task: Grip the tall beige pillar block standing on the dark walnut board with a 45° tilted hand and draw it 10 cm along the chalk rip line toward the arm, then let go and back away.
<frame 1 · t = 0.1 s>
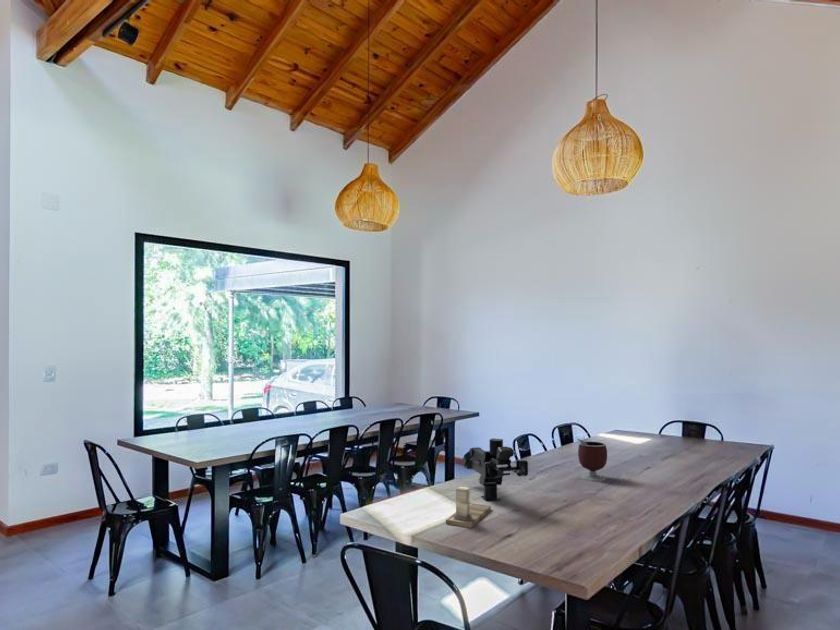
hand: (514, 473, 223), 17 cm above the table, tool horizontal, fingers open, 9 cm apart
walnut board: (469, 516, 222), on the table
mate gourd: (591, 478, 282), on the table
tall beige pillar block: (462, 503, 216), point 7 cm above the table, slide at 0.0 cm
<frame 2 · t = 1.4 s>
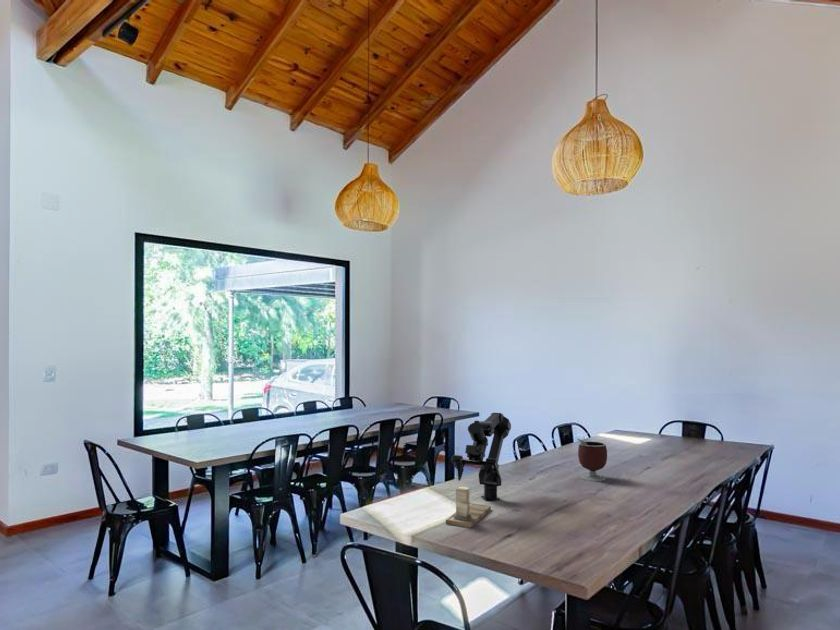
hand: (469, 481, 223), 13 cm above the table, tool tilted 45°, fingers open, 9 cm apart
nothing on the table moved.
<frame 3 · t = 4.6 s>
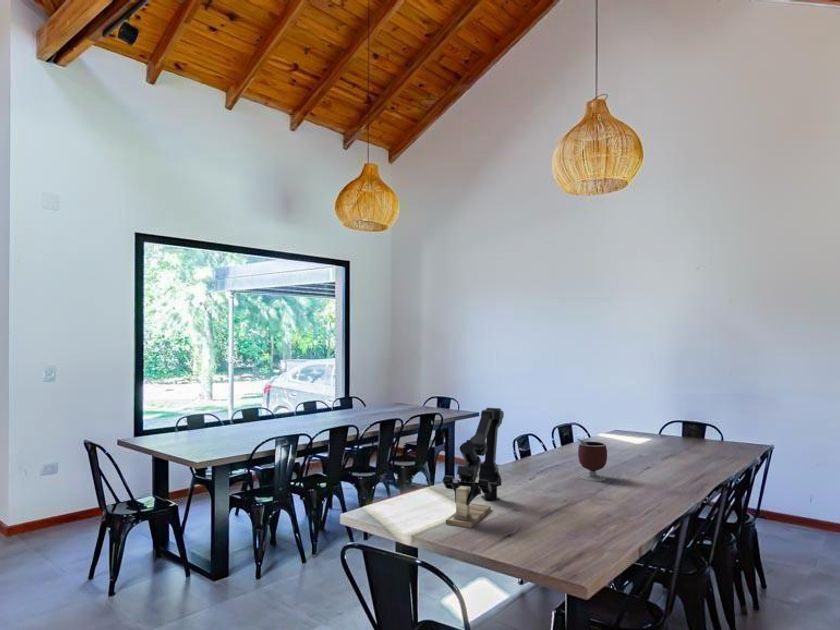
hand: (461, 504, 215), 7 cm above the table, tool tilted 45°, fingers closed on tall beige pillar block, 4 cm apart
tall beige pillar block: (462, 503, 216), point 7 cm above the table, slide at 0.0 cm, touching gripper
everything else where it was.
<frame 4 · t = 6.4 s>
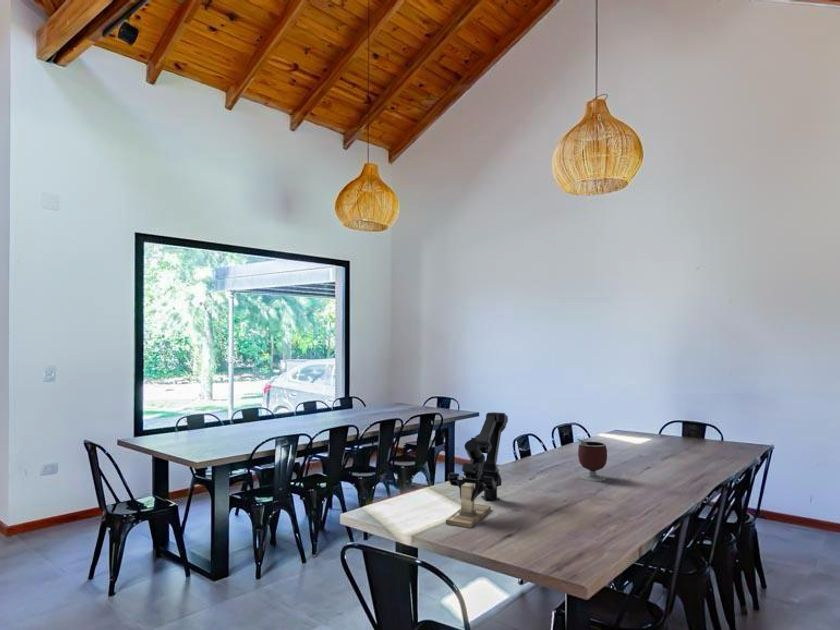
hand: (466, 500, 220), 7 cm above the table, tool tilted 45°, fingers closed on tall beige pillar block, 4 cm apart
tall beige pillar block: (467, 499, 221), point 7 cm above the table, slide at 5.4 cm, touching gripper
everything else where it was.
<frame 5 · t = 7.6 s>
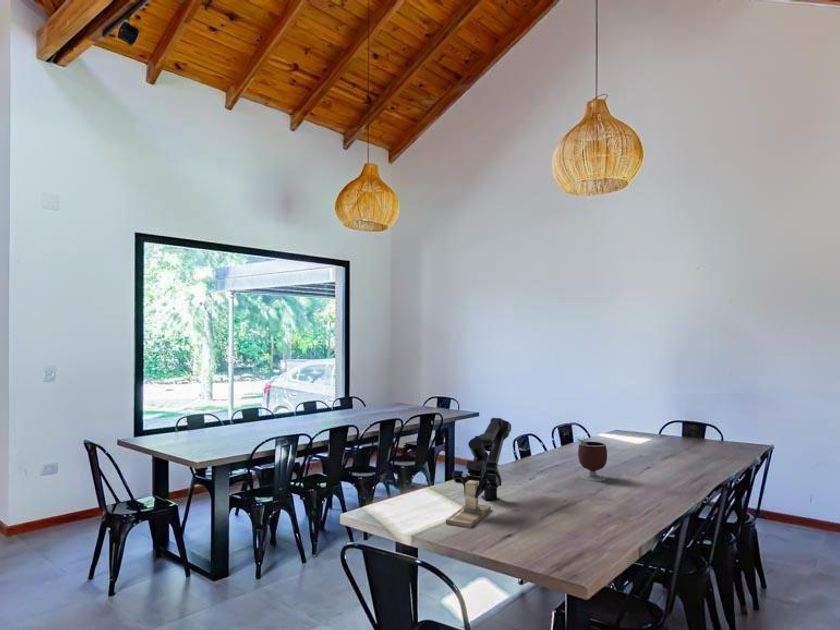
hand: (470, 497, 224), 7 cm above the table, tool tilted 45°, fingers closed on tall beige pillar block, 4 cm apart
tall beige pillar block: (471, 496, 225), point 7 cm above the table, slide at 10.0 cm, touching gripper
everything else where it was.
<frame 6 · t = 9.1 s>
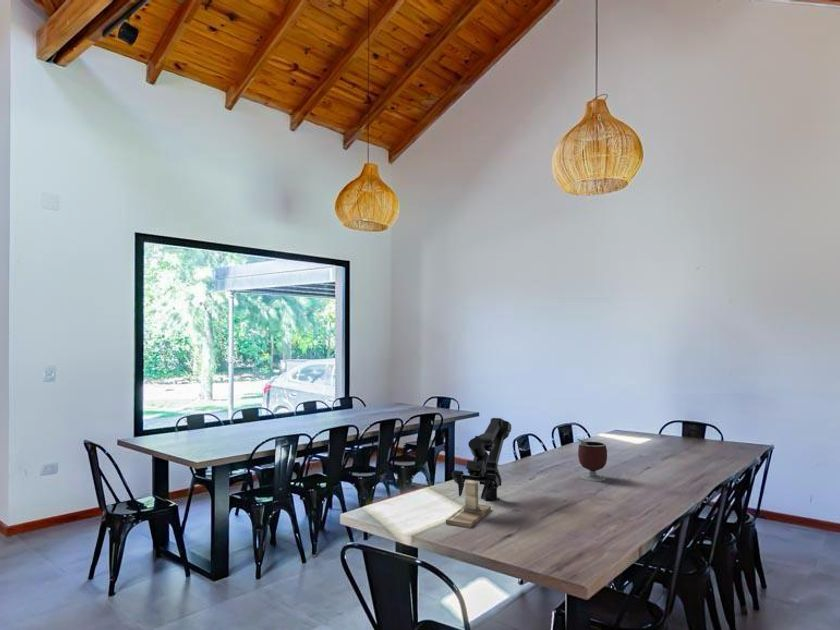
hand: (470, 497, 224), 7 cm above the table, tool tilted 45°, fingers open, 9 cm apart
tall beige pillar block: (471, 496, 225), point 7 cm above the table, slide at 10.0 cm
everything else where it was.
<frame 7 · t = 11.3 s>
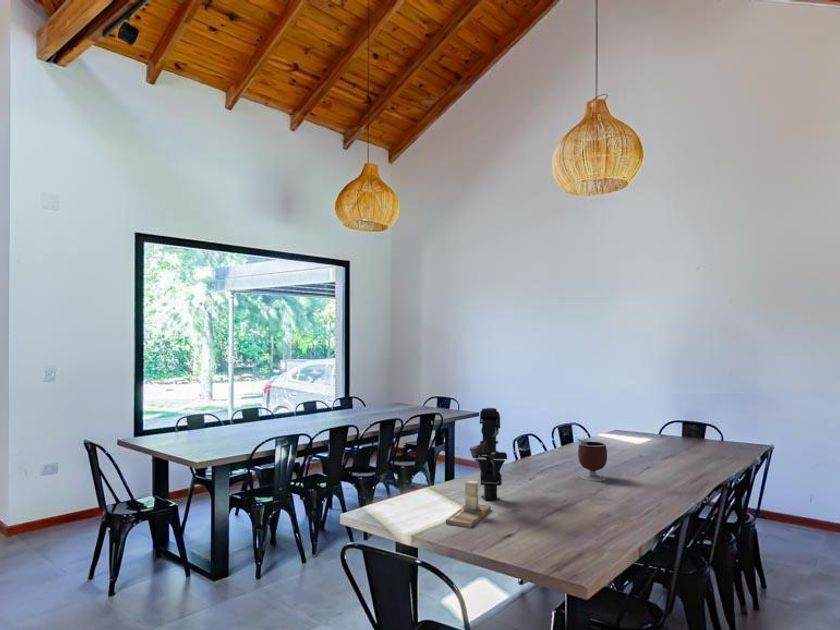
hand: (489, 477, 234), 13 cm above the table, tool pointing down, fingers open, 9 cm apart
nothing on the table moved.
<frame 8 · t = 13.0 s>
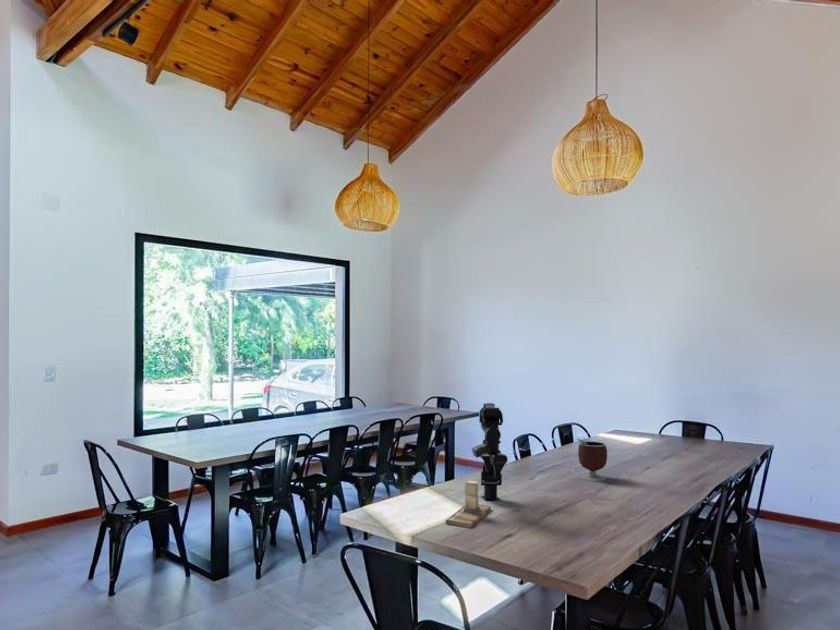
hand: (492, 475, 234), 13 cm above the table, tool pointing down, fingers open, 9 cm apart
nothing on the table moved.
at the end: tall beige pillar block slide at 10.0 cm; the gripper is holding nothing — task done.
